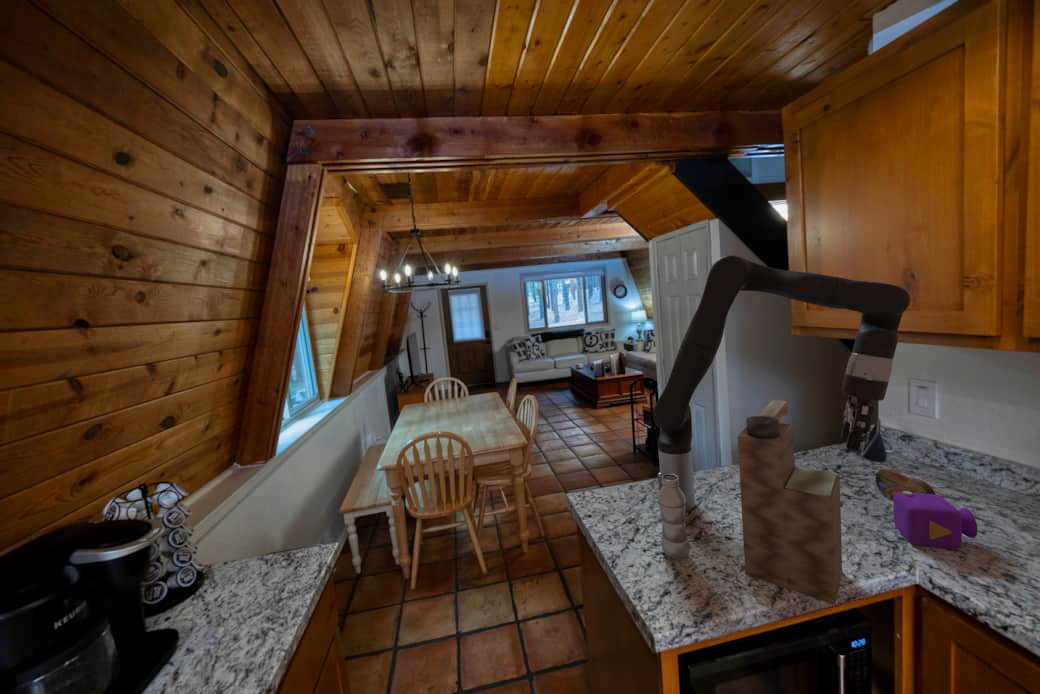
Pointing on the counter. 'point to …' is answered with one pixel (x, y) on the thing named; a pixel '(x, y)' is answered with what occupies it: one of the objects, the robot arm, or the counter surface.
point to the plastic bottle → (673, 518)
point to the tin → (900, 483)
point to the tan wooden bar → (767, 420)
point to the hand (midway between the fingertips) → (849, 444)
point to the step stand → (789, 518)
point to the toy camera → (932, 520)
